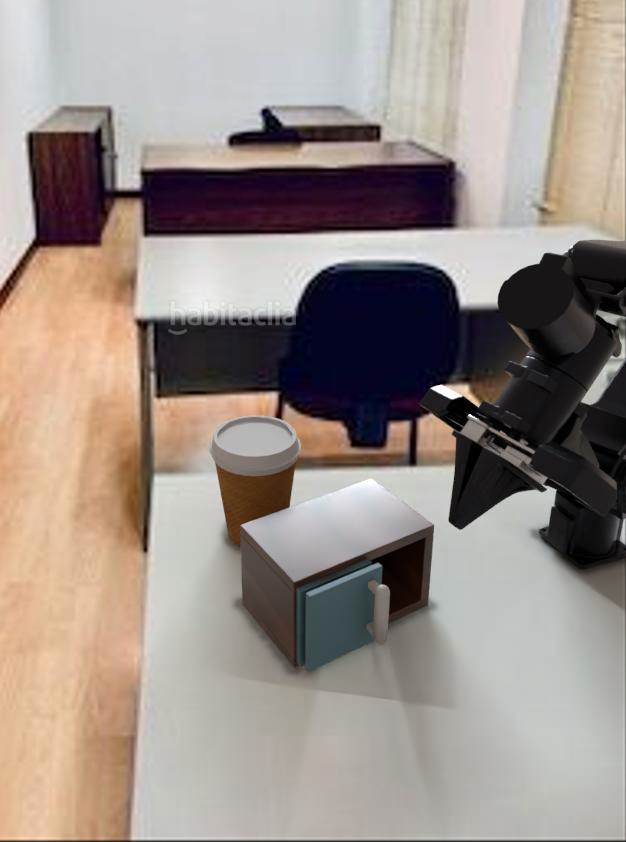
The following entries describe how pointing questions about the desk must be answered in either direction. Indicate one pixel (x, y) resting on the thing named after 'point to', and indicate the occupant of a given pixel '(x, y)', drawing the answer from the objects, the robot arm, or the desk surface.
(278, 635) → the cabinet
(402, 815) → the desk surface
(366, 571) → the sliding door
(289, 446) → the disposable coffee cup
